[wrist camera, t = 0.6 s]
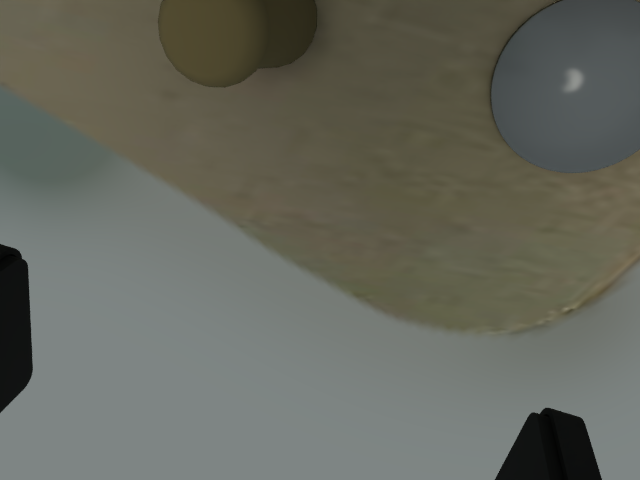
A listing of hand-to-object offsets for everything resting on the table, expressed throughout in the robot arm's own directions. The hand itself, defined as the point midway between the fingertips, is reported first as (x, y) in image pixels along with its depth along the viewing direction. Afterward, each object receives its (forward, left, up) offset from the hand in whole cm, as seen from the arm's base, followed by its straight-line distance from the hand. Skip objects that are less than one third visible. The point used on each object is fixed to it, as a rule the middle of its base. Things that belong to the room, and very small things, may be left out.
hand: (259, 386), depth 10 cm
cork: (-3, -8, -28) cm, 30 cm away
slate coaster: (-3, +11, -28) cm, 30 cm away
